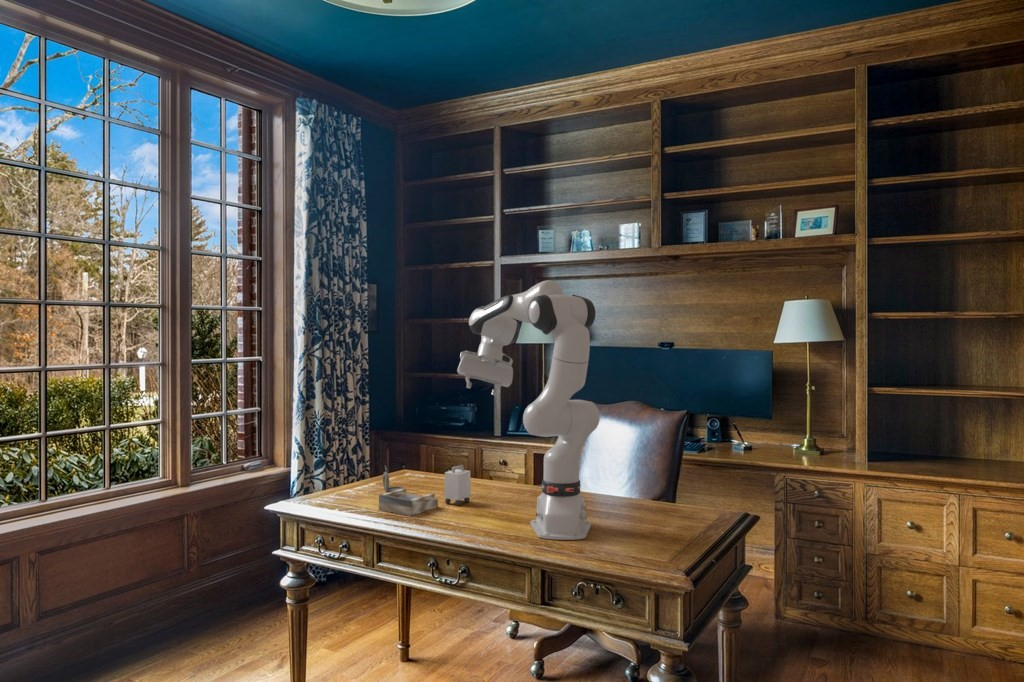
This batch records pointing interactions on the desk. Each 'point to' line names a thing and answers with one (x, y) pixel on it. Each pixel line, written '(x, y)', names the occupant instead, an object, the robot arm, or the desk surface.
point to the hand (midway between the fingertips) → (481, 391)
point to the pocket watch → (386, 483)
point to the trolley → (457, 485)
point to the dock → (406, 502)
